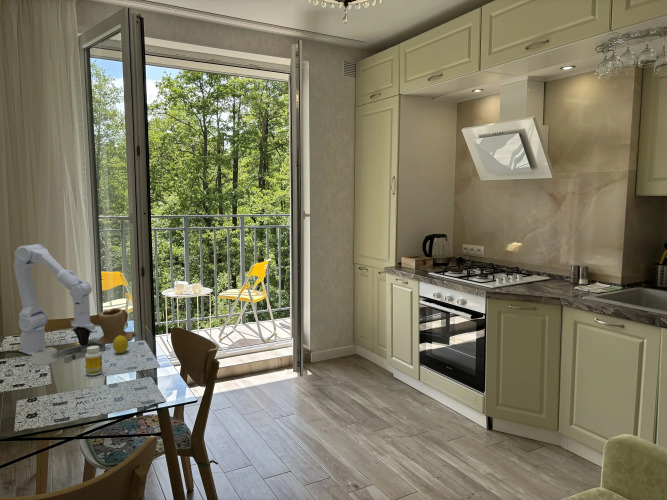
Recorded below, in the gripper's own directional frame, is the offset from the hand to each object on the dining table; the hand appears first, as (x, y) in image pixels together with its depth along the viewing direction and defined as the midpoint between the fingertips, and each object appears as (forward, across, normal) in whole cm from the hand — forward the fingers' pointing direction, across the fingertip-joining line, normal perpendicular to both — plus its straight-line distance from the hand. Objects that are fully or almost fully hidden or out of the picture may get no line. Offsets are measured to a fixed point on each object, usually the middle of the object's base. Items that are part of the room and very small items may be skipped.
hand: (83, 344), depth 196 cm
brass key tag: (+3, -9, +4) cm, 11 cm away
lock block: (+4, -1, -15) cm, 15 cm away
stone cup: (+4, -3, +16) cm, 17 cm away
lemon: (+4, +14, +7) cm, 16 cm away
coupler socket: (+3, 0, 0) cm, 3 cm away
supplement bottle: (+4, +26, -11) cm, 28 cm away
